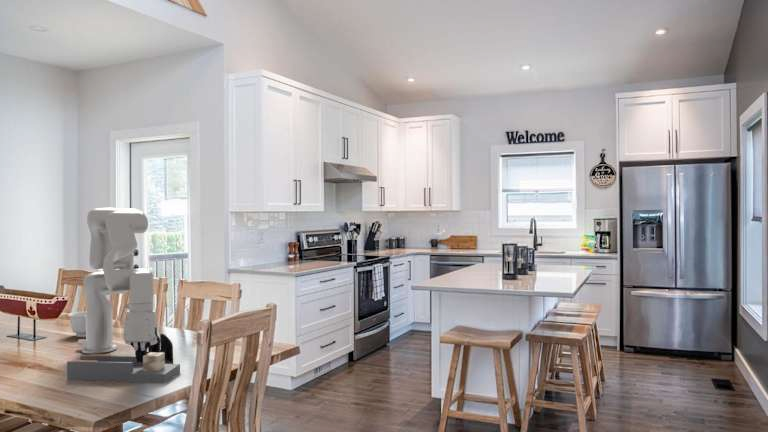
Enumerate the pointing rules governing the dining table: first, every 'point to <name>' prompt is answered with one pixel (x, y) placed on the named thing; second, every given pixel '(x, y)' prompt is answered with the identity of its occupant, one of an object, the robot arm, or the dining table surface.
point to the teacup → (78, 323)
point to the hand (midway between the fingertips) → (141, 361)
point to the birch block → (153, 361)
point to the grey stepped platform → (117, 369)
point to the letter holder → (163, 348)
